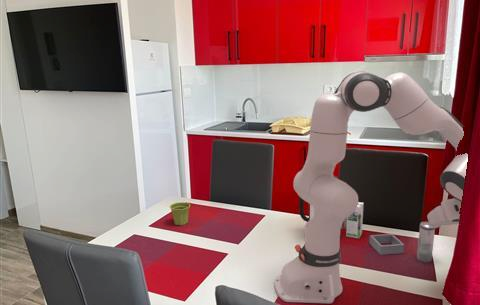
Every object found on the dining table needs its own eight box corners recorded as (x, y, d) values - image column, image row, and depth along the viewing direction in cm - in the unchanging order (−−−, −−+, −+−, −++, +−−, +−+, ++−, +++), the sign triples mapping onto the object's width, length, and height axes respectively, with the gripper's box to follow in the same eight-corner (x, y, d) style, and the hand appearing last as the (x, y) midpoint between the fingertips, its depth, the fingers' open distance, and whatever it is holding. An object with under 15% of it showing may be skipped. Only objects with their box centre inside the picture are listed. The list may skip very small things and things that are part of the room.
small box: (346, 229, 169) (347, 212, 167) (336, 228, 170) (337, 211, 168) (346, 224, 174) (347, 208, 172) (337, 223, 175) (337, 207, 173)
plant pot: (168, 221, 182) (167, 204, 179) (187, 217, 185) (186, 200, 183) (174, 228, 173) (172, 211, 171) (193, 224, 177) (192, 207, 175)
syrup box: (345, 236, 162) (347, 204, 159) (348, 230, 167) (350, 200, 164) (359, 239, 160) (361, 206, 156) (362, 233, 165) (364, 202, 161)
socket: (380, 254, 146) (380, 246, 146) (369, 243, 156) (369, 235, 155) (403, 253, 147) (404, 244, 147) (391, 241, 157) (392, 233, 156)
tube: (421, 262, 140) (425, 228, 137) (413, 255, 145) (417, 222, 142) (434, 261, 141) (438, 227, 137) (426, 254, 146) (430, 221, 142)
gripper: (499, 197, 118) (473, 213, 130) (437, 200, 116) (417, 217, 128) (508, 216, 115) (481, 231, 127) (445, 220, 113) (423, 235, 125)
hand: (448, 224), depth 127 cm, fingers open, 8 cm apart
